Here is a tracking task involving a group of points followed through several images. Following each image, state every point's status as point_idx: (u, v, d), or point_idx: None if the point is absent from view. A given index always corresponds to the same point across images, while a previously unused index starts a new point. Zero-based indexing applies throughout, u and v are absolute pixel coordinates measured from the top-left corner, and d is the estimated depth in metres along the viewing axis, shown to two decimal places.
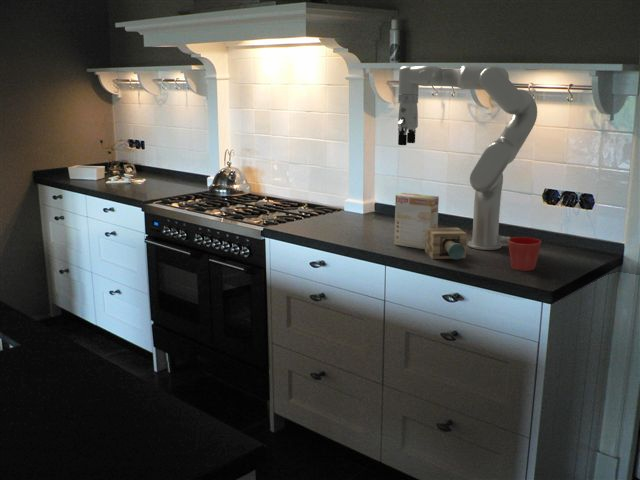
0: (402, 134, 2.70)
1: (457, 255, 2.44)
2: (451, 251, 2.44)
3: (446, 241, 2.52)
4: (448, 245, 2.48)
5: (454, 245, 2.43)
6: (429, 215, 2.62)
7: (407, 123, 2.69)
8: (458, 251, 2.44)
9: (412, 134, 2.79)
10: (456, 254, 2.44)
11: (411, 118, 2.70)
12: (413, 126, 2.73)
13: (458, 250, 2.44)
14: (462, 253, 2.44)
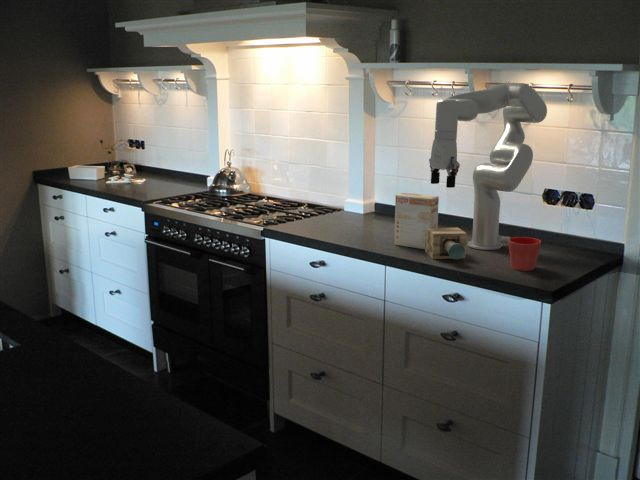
0: None
1: (457, 255, 2.44)
2: (451, 251, 2.44)
3: (446, 241, 2.52)
4: (448, 245, 2.48)
5: (454, 245, 2.43)
6: (429, 215, 2.62)
7: None
8: (458, 251, 2.44)
9: None
10: (456, 254, 2.44)
11: (432, 155, 2.47)
12: (435, 165, 2.46)
13: (458, 250, 2.44)
14: (462, 253, 2.44)
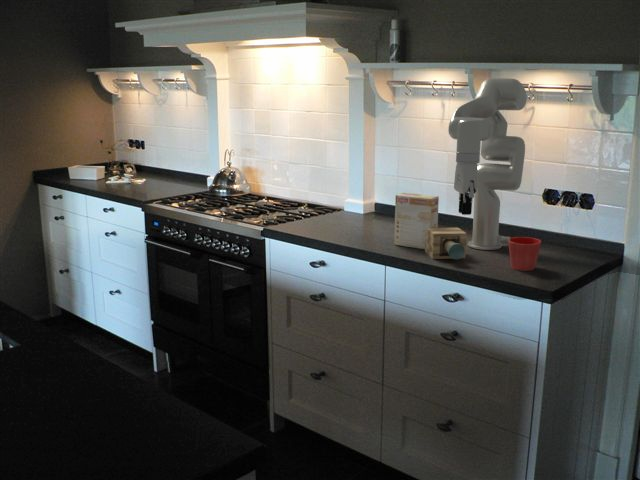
0: None
1: (457, 255, 2.44)
2: (451, 251, 2.44)
3: (446, 241, 2.52)
4: (448, 245, 2.48)
5: (454, 245, 2.43)
6: (429, 215, 2.62)
7: None
8: (458, 251, 2.44)
9: None
10: (456, 254, 2.44)
11: (455, 178, 2.35)
12: (457, 188, 2.33)
13: (458, 250, 2.44)
14: (462, 253, 2.44)
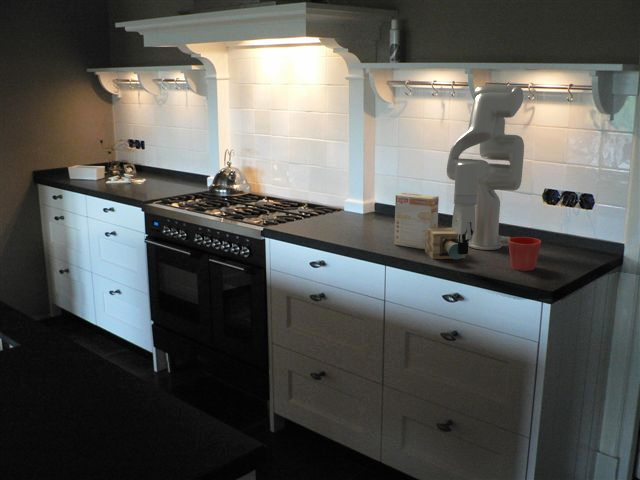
0: None
1: (457, 255, 2.44)
2: (451, 251, 2.44)
3: (446, 241, 2.52)
4: (448, 245, 2.48)
5: (454, 245, 2.43)
6: (429, 215, 2.62)
7: None
8: None
9: None
10: (456, 254, 2.44)
11: (453, 218, 2.38)
12: (454, 229, 2.36)
13: None
14: None
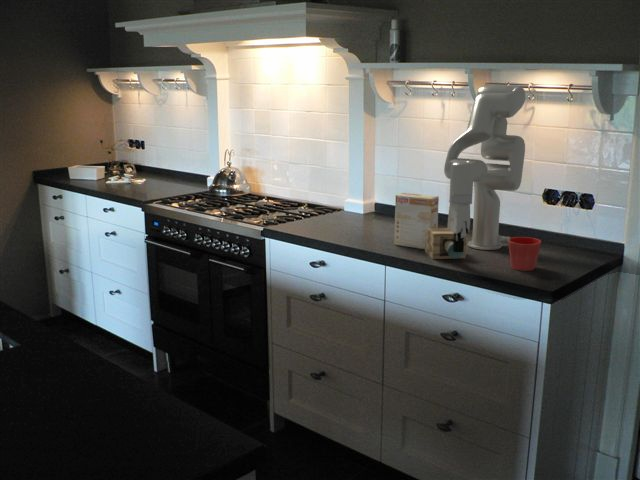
0: None
1: (456, 254, 2.45)
2: (450, 250, 2.45)
3: (445, 240, 2.52)
4: (447, 244, 2.49)
5: None
6: (429, 215, 2.62)
7: None
8: None
9: None
10: (455, 253, 2.45)
11: (449, 217, 2.43)
12: (450, 228, 2.41)
13: None
14: (461, 252, 2.45)
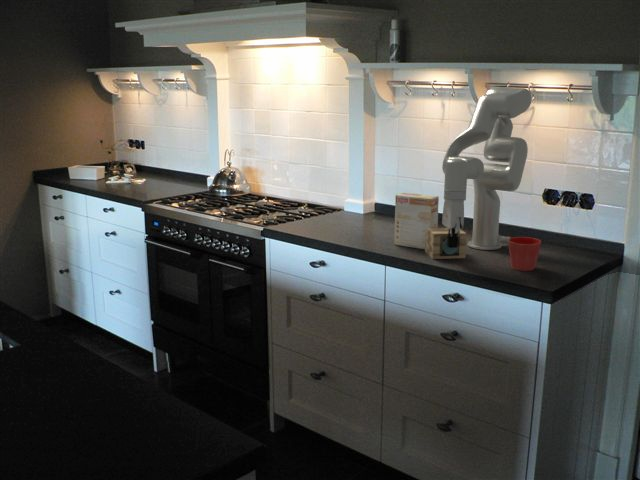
0: None
1: (451, 250, 2.51)
2: (445, 246, 2.51)
3: None
4: None
5: None
6: (429, 215, 2.62)
7: None
8: None
9: None
10: (450, 249, 2.51)
11: (443, 213, 2.49)
12: (444, 223, 2.47)
13: None
14: (455, 248, 2.51)
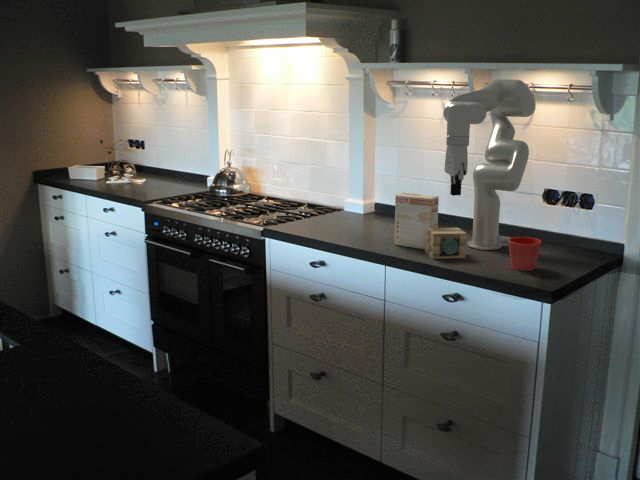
0: None
1: (451, 250, 2.51)
2: (445, 246, 2.50)
3: None
4: None
5: (448, 240, 2.50)
6: (429, 215, 2.62)
7: None
8: (452, 247, 2.51)
9: None
10: (450, 249, 2.51)
11: (446, 160, 2.42)
12: (447, 171, 2.41)
13: (452, 245, 2.51)
14: (456, 248, 2.51)
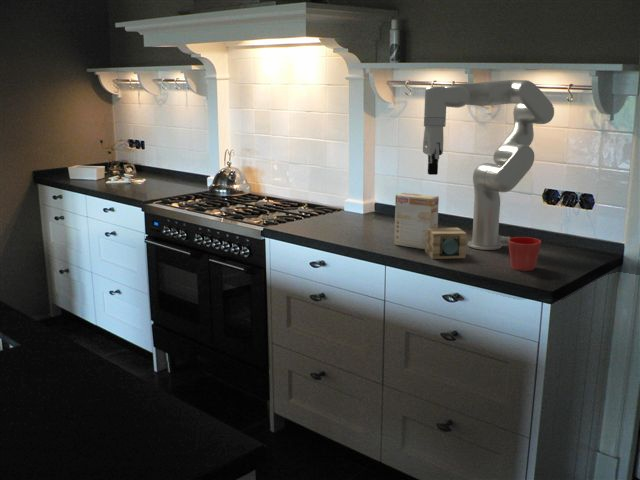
0: None
1: (451, 250, 2.51)
2: (445, 246, 2.50)
3: None
4: None
5: (448, 240, 2.50)
6: (429, 215, 2.62)
7: None
8: (452, 247, 2.51)
9: None
10: (450, 249, 2.51)
11: (423, 141, 2.53)
12: (425, 151, 2.52)
13: (452, 245, 2.51)
14: (456, 248, 2.51)
